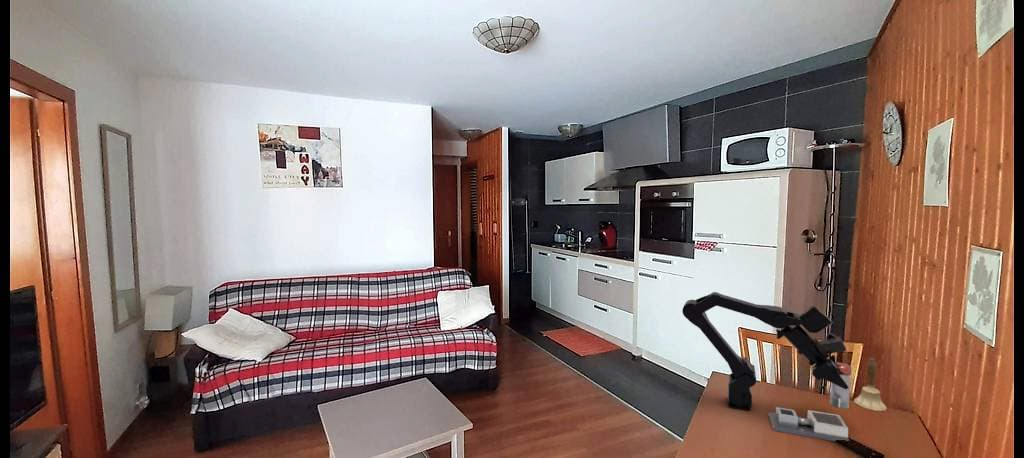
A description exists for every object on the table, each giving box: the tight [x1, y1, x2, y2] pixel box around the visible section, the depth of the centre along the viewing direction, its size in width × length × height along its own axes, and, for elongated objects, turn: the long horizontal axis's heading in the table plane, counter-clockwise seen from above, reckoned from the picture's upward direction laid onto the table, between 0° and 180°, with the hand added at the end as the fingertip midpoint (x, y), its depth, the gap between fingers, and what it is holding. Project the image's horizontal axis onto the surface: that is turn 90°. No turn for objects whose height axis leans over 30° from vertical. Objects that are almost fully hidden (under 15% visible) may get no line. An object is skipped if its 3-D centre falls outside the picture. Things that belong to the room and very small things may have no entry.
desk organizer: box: [768, 406, 850, 442], centre depth 122 cm, size 18×9×4 cm, turn 66°
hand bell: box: [853, 357, 888, 412], centre depth 135 cm, size 8×8×16 cm
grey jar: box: [829, 361, 853, 410], centre depth 122 cm, size 5×5×12 cm
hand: (846, 385), depth 122 cm, fingers closed on grey jar, 4 cm apart
